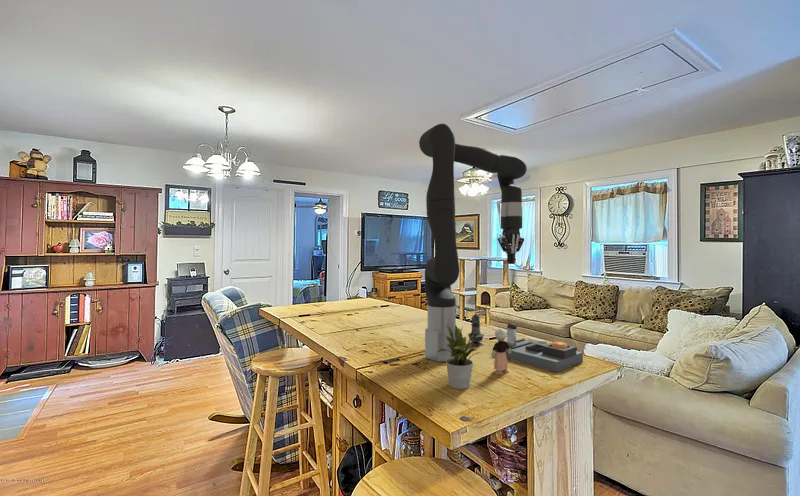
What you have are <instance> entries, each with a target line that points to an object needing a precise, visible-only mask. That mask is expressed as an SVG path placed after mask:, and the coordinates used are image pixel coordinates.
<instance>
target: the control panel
mask: <svg viewBox="0 0 800 496" xmlns="http://www.w3.org/2000/svg"><path fill="white" fill-rule="evenodd" d="M509 347H510V351H511V354H509V353H508V351H507V349H506V357H507V360H511V361H514V362H518V363H521V364H526V365H529V366H532V367H536V368H539V369H543V370H547V371H551V372H554V373H558V372H561V371H563V370H566V369H568V368H570V367H573V366H576V365H578V364H581V363H583V362H584V358H583V357H584V355H583V354H584V352H582V351H579V350H577V346H574V345H570V344H569V345H568V344H567V348H566V349H558V348H554V347H552V342H550V343H548V344H547V345H545V344H537V343H532V342H528V339H526V338H519V339H516V346H509ZM495 356H496V353H495Z"/></svg>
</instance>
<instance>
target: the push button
mask: <svg viewBox="0 0 800 496" xmlns="http://www.w3.org/2000/svg"><path fill="white" fill-rule="evenodd" d="M551 343H552V347H554V348H558V349H566V348H567V345H568V343H566V342H562V341H552V342H551Z"/></svg>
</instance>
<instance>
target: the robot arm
mask: <svg viewBox="0 0 800 496" xmlns="http://www.w3.org/2000/svg"><path fill="white" fill-rule="evenodd" d="M418 146H419V149H420V151H421V152H422V153H423V154H424V155H425V156H427V157H429V158H432V173H431V176H430V180H429V183H428V186H427V190H426V199H425V201H426V206H425V207H426V219H427V221H428V225H429V228H430V232H431V234H432V237H433V240H434V242H433V243H434V257H431V258H429V260H428V261H427V262H426V264H425V269H424V289H425V290H424V291H425V292H424V293H425V297H426V302H427V314H426V315H427V319H426V321H427V323H426V324H427V327H426V328H425V329H424V358H425V359H428V360H431V361H433V362H436V363H439V362H446V360H448V359H451V355H450V354H451V353H452V351H451V349H450V347H448V346H447V344H448V343H449V341H448V340H447V338H446V337H445V336H447V337H450V338H451V336H450V333H449V330H448V328H447V326H449V327H450V328H451V330H452V333H453V336H454V339H455V325H456V319H457V317H456V315H457V313H456V308H457V307H456V305H457V301H456V296H455V295H454V294H453V292H452V285H454V284H455V283H456V282H457V280H458V278H459V276H460V261H459V255H458V247H457V233H456V232H457V231H456V200H455V197H456V196H455V175H454V174H455V173H454V172H455V171H454V170H455V169H454V167H455V164H454V163H459V164H463V165H467V166H470V167H473V168H476V169H478V170H480V171H484V172H487V173H489V174H497V175H496V176H497V180H498V185H499V188H500V193H501V195H500V197H501V198H500V199H501V205H500V229H501V230H502V233H501V236H500V237H497V241H498V244H499V246H500V248H501V251H502V252H503V253H506V255H507V256H506V261H507V263H506V264H508V265H515V264H516V254H517V252H520V251H521V248H522V246H523V244H524V242H525V238H524V237H522V236H521V232H520V230H522V229H523V200H522V198H523V196H522V195H523V194H522V193H523V192H522V188H521V186H518V185H516V184H515V180H517V179H520V178H523V177H524V176H525V174H526V173H527V164H526V163H525V161H524V160H523V159H521V158H519V157H517V156H512V155H505V154H499V153H497V152H494V151H493V150H489V149H488V148H487V149H486V148H484V147H478V146H473V145H472V146H471V145H465V144H459V143H456V137H455V133H454V131H453V129H452V128H451V127H450V125H448V124H446V123H439V124H436V125H434V126H432V127H431V128H429V129H428V130H426V131H425V132H423V133H422V135H421V136H420V138H419V142H418ZM445 324H446V325H447V326H446V325H445ZM456 326H457V325H456ZM432 329H434V330H432ZM437 330H438V331H437ZM441 332H442V333H441ZM438 333H439V334H438ZM442 335H443V336H444V337H445V338H444V337H443V336H442ZM451 339H452V338H451ZM446 340H447V341H446ZM449 344H450V343H449ZM433 345H435V346H433ZM438 346H439V347H438ZM440 347H441V348H442V349H446V350H444V351H445V352H446V353H445V352H444V351H440V352H438V353H437V351H438V350H439V349H441V348H440ZM447 350H448V351H447ZM449 351H450V352H451V353H450V352H449ZM452 358H454V357H452Z"/></svg>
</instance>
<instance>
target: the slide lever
mask: <svg viewBox="0 0 800 496" xmlns="http://www.w3.org/2000/svg"><path fill="white" fill-rule="evenodd" d="M517 328H518V326H517V324H515V323H508V324H507V327H506V334H507V336H506V342H507V344H508V345H509V346H516V340H517Z"/></svg>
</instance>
